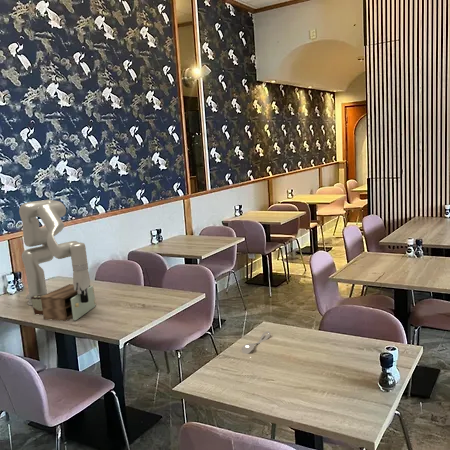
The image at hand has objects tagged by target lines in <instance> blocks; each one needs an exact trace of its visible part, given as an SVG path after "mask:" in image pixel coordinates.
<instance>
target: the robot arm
mask: <svg viewBox="0 0 450 450" xmlns="http://www.w3.org/2000/svg"><path fill="white" fill-rule="evenodd" d="M18 212H19V216H20V220H21V222H22V236H23V242H24V243H23V244H24V245H25V246H26V247H28V249H25V250H24V251H22V253H21V260H22V263H23V267H24V270H25V276H26V282H27V287H28V293H27V295H26V296H25V299H27V300H28V301H27V305H29V306H32V301H31V300H30V296H32V295H36V294H48V291H47V285H46V276H45V271H44V269H43V267H42V266H40V264H43V263H48V262H50V261H52V260H53V259H54V258H56V259H58V260H62V259H66V258H70V259H71V267H72V282H73V283H72V284H73V285H74V290H75V291H77V290H78V294H80V296H81V303H87V302H88V301H89V300H88V288H89V286H91V278H90V273H89V265H88V264H89V262H88V258H87V250H86V248H87V247H86V244H85V243H84V242H78V241H76V240H71V241H67V242H66V241H65V242H62V243H59V244H58V242H57V241H56V238H55V237H56V235H58V234H59V233H61V232H62V230H63V229H64V228H65V223H64V222H63V220H62V219H61V218H62V217H65V215H66V213H67V209H66V207H65V204H64V203H63V202H61V201H59V200H55V199H44V200H36V201H35V200H34V201H29V202H24V203H22V204H21V205H20V207H19V210H18ZM38 218H40V220H41V221H42V223H43V225H44V227H40V221H39V219H38Z"/></svg>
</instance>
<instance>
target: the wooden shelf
mask: <svg viewBox="0 0 450 450" xmlns="http://www.w3.org/2000/svg"><path fill="white" fill-rule="evenodd" d="M90 286H91V285H90ZM90 286H89V287H90ZM77 294H78V290H77V291H75V290H74V285H73V283H72V284H71V283H70V284H67V285H65V286H62V287H60V288H57V289H55V290H53V291H50V292H47V294H46V295H43V296H41V303H42V309H43V315H42V316H43V320H48V319H52V320H51V321H60V320H63V321H62V322H67V321H68V320H71V319H73V314H72V306H71V298H73V297H74V296H76V295H77ZM66 320H67V321H66Z"/></svg>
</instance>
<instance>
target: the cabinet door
mask: <svg viewBox="0 0 450 450" xmlns="http://www.w3.org/2000/svg"><path fill="white" fill-rule="evenodd" d="M88 300H89V301H88V302H87V303H81V296H80V294H77V295H76V296H74V297H73V298H71V306H72V314H73V317H72V319H73V321H77V320H79V318H81V317H82V316H84V315H85V314H86V313H88V312H90V311H91V310H92V309H94V308H95V307H96V306H97V305H96V296H95V289H94V285H90V287H89V288H88Z"/></svg>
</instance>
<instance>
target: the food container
mask: <svg viewBox="0 0 450 450" xmlns="http://www.w3.org/2000/svg"><path fill="white" fill-rule="evenodd" d="M43 295H46V294H36V295H32V296H30V300H31V301H32V305H31V306H32V309H33V314H34V315H36V314H39V315H38V316H43V309H42V303H41V296H43Z"/></svg>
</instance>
